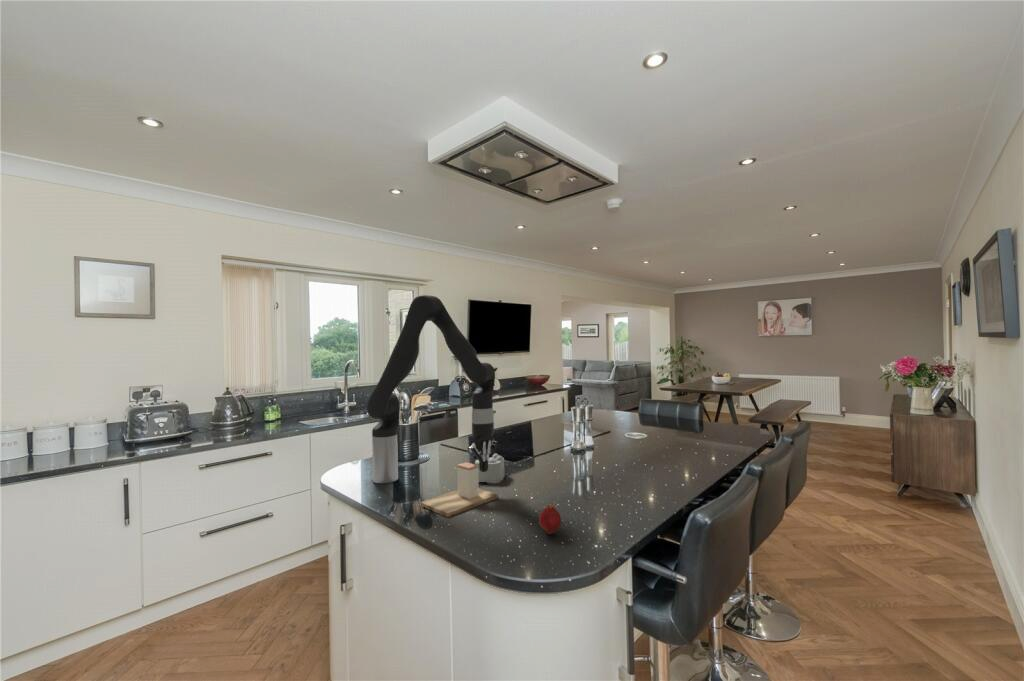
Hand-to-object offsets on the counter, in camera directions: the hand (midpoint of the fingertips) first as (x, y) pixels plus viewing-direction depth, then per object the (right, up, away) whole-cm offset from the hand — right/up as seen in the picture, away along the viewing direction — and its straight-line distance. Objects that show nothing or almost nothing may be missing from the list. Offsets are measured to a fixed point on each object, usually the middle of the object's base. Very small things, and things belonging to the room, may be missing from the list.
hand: (483, 471), depth 149 cm
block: (-5, -6, -5) cm, 10 cm away
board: (-7, -8, -8) cm, 13 cm away
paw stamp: (+2, -8, +17) cm, 19 cm away
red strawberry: (+20, -7, -33) cm, 39 cm away
